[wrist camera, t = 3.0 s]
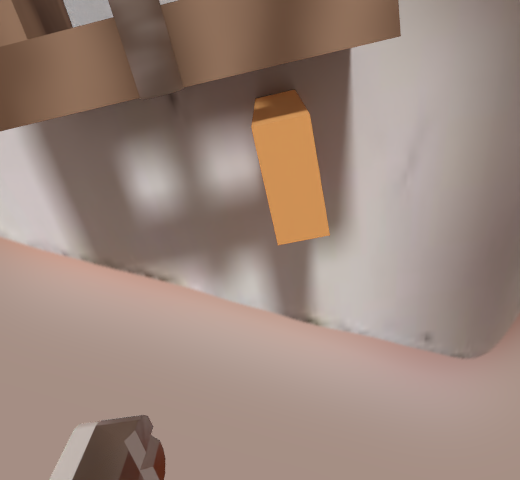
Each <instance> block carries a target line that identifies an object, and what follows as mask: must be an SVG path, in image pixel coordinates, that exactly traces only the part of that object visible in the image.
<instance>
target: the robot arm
mask: <svg viewBox="0 0 520 480" xmlns="http://www.w3.org/2000/svg"><path fill="white" fill-rule="evenodd" d="M152 429H153V425H152V423H151V421H150V419H149V417H148V416H146V415H139V416H132V417H124V418H116V419H110V420H102V421H98V422H90V423H83V424H79V425H78V426H77V427H76V428H75V429H74V430H73V432H72V434H71V436H70V438H69V440H68V442H67V444H66V446H65V448H64V450H63V453H62V454H61V456H60V458H59V461H58V463H57V465H56V467H55V469H54V471H53V473H52V475H51V477H50V479H49V480H164V476H165V455H164V450H163V447H162V445H161V442H160V440H158V439H157V438H155V437H153V436H152V435H151V432H152Z"/></svg>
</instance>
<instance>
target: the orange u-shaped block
mask: <svg viewBox="0 0 520 480" xmlns="http://www.w3.org/2000/svg"><path fill="white" fill-rule="evenodd" d="M251 128H252V133H253V137H254V141H255V146H256V150H257V155H258V159H259V164H260V168H261V172H262V177H263V181H264V186H265V190H266V195H267V199H268V203H269V208H270V212H271V217H272V221H273V226H274V230H275V234H276V239H277V243H278V245H282V244H287V243H292V242H298V241H303V240H308V239H313V238H318V237H323V236H329V235H330V233H329V227H328V221H327V215H326V209H325V203H324V196H323V190H322V184H321V178H320V172H319V166H318V160H317V154H316V148H315V142H314V136H313V130H312V124H311V118H310V114H309V112H308V110H307V109H306V107H305V105H304V104H303V102H302V100H301V99H300V97H299V95H298V94H297V92H296V90H290V91H286V92H282V93H277V94H273V95H269V96H264V97H260V98H256V99H255V105H254V112H253V119H252V126H251Z"/></svg>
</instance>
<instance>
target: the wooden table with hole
mask: <svg viewBox="0 0 520 480" xmlns="http://www.w3.org/2000/svg"><path fill="white" fill-rule="evenodd" d="M108 1H109V4H110V7H111V10H112V13H113V16H114V17H113V18H109V19H105V20H101V21H98V22H94V23H90V24H86V25H82V26H78V27H74V28H73V27H72V24H71V21H70V19H69V16H68V13H67V11H66V8H65V5H64V2H63V0H0V131H3V130H7V129H11V128H16V127H20V126H24V125H28V124H33V123H37V122H41V121H45V120H49V119H54V118H58V117H62V116H66V115H70V114H75V113H79V112H83V111H87V110H91V109H96V108H100V107H104V106H108V105H113V104H117V103H121V102H125V101H129V100H134V99H138V98H140V99H141V100H144V99H150V98H154V97H159V96H163V95H167V94H170V93H174V92H177V91H180V90H183V89H184V87H188V86H193V85H197V84H201V83H205V82H209V81H214V80H218V79H222V78H226V77H231V76H235V75H239V74H243V73H247V72H252V71H256V70H260V69H264V68H268V67H273V66H277V65H281V64H285V63H289V62H294V61H298V60H302V59H306V58H311V57H315V56H319V55H323V54H327V53H332V52H336V51H340V50H344V49H348V48H353V47H357V46H361V45H365V44H370V43H374V42H378V41H382V40H386V39H391V38H395V37H399V36H401V34H400V20H399V5H398V0H179V1H175V2H171V3H167V4H163V5H160V3H159V0H108Z"/></svg>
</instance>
